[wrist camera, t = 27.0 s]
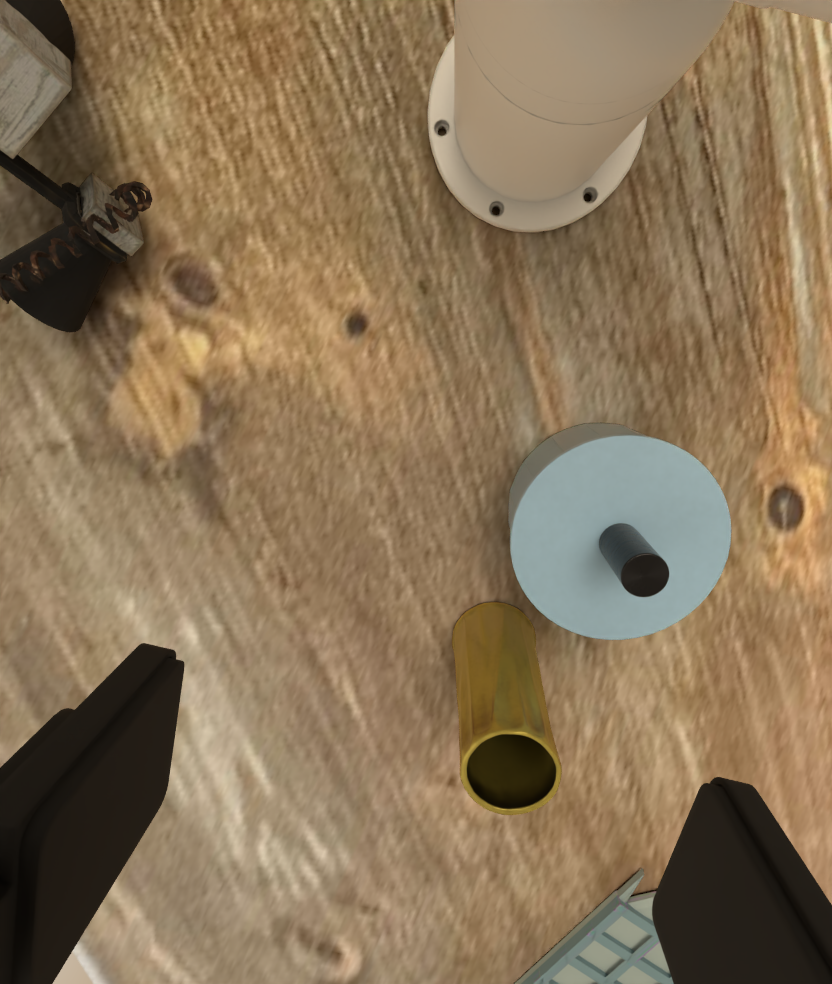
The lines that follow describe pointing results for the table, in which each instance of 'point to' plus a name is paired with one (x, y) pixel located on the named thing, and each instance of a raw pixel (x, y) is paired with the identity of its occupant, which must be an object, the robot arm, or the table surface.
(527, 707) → the vase
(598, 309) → the table surface
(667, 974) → the calendar
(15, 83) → the telephone
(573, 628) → the lid
